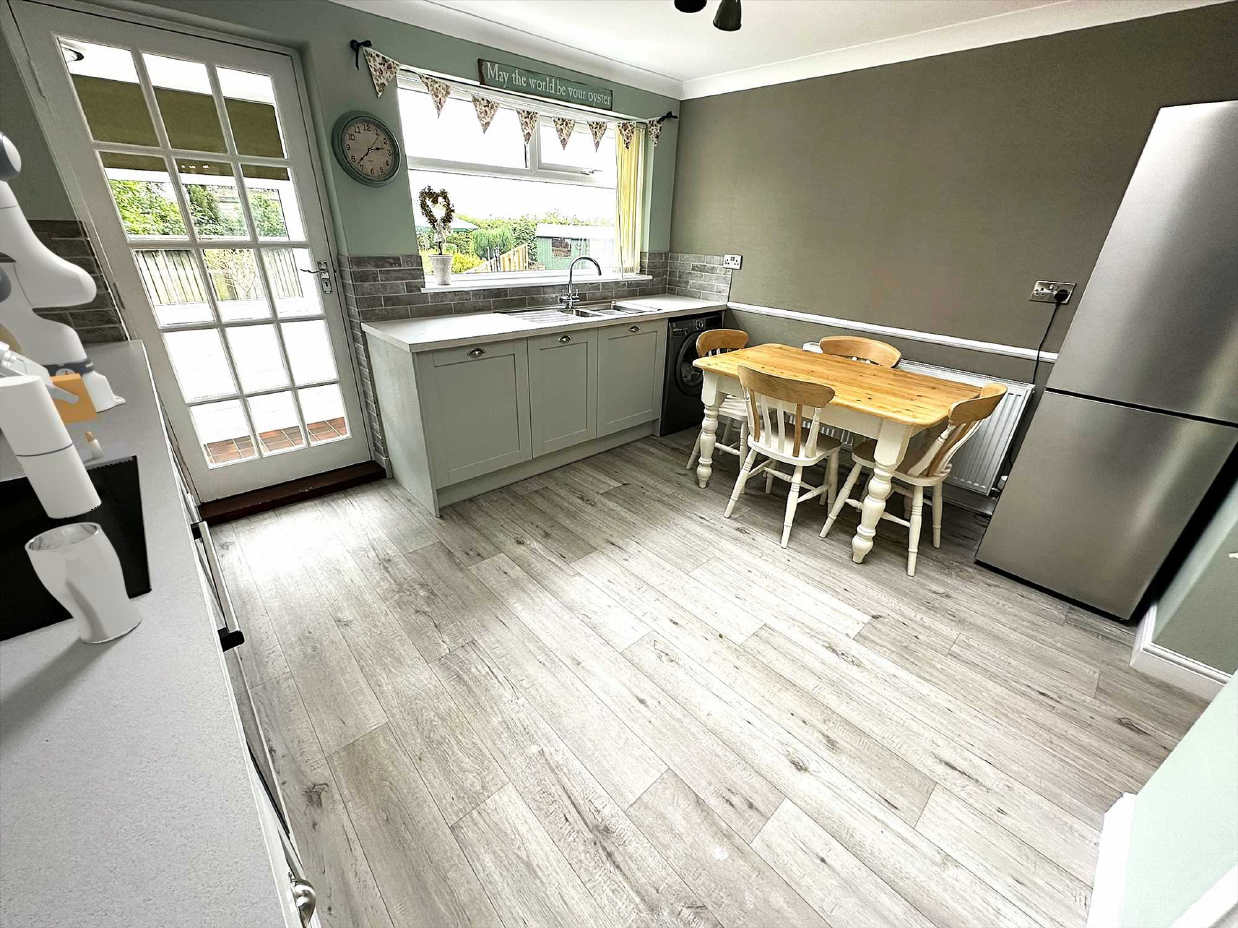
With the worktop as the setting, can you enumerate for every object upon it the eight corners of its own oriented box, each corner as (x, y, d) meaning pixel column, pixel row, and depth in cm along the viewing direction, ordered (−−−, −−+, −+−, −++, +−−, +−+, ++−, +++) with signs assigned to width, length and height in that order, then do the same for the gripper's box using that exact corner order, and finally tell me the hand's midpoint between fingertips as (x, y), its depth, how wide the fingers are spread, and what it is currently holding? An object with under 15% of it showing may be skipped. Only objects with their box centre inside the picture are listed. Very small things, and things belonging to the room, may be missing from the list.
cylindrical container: (67, 520, 91) (-2, 388, 80) (37, 515, 92) (-35, 385, 81) (111, 501, 97) (52, 377, 86) (82, 497, 98) (20, 374, 87)
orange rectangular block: (61, 418, 108) (42, 377, 104) (96, 412, 111) (78, 373, 108) (64, 424, 105) (44, 383, 101) (99, 418, 108) (81, 378, 104)
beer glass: (76, 626, 68) (23, 534, 61) (144, 603, 72) (101, 515, 66) (77, 655, 63) (20, 560, 57) (149, 628, 68) (103, 537, 61)
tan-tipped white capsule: (92, 457, 112) (81, 432, 109) (103, 454, 113) (92, 430, 111) (93, 459, 111) (82, 434, 108) (104, 457, 112) (93, 432, 110)
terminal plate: (65, 457, 114) (63, 453, 113) (124, 445, 121) (122, 441, 120) (71, 473, 107) (69, 469, 106) (133, 459, 114) (131, 455, 113)
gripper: (-6, 354, 90) (91, 395, 101) (-8, 337, 102) (79, 375, 113) (-32, 383, 89) (70, 421, 100) (-30, 362, 101) (60, 398, 112)
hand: (75, 396), depth 106 cm, fingers closed on orange rectangular block, 5 cm apart
